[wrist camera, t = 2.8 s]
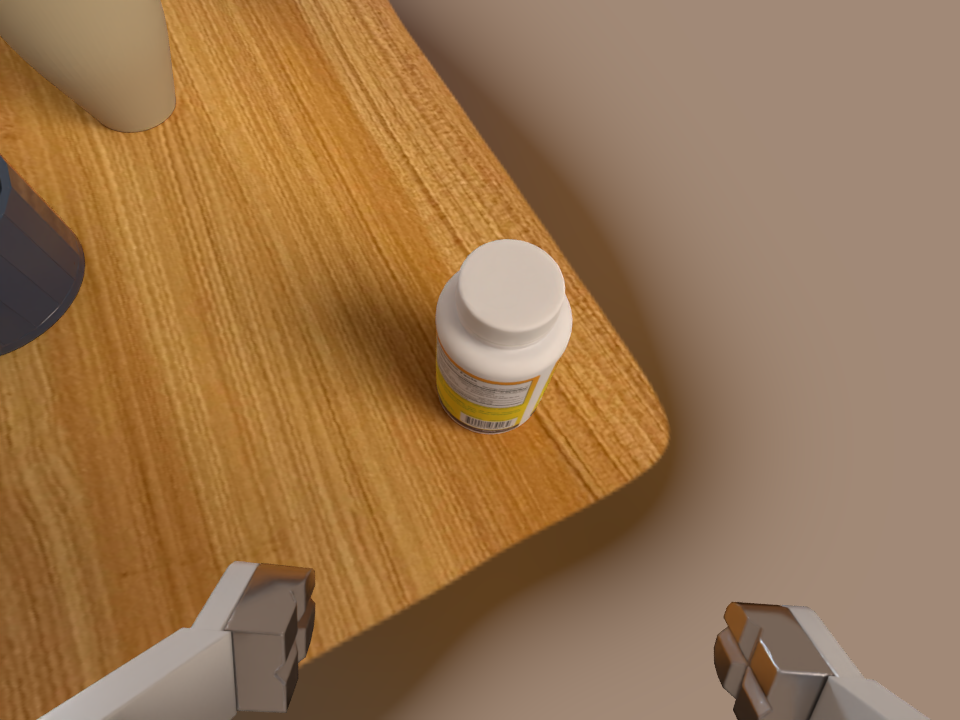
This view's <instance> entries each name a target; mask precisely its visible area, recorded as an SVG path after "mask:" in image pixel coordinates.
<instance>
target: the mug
mask: <svg viewBox="0 0 960 720" xmlns="http://www.w3.org/2000/svg"><path fill="white" fill-rule="evenodd" d="M0 36H1V37H2V38H3V39H4V40H5V41H6V42H7V43H8V44H9V45H10V46H11V48H12V49H13V50H15V51H16V52H17V53H18V54H19V55H20V56H21V57H22V58H23V59H24V60H25V61H26V62H27V63H28V64H29V65H31V66H32V67H33V68H34V69H35V70H36V71H37V72H39V73H40V74H41V75H42V76H43V77H45V78H46V79H47V80H48V81H49V82H51V83H52V84H53V85H54V86H56V87H57V88H58V89H59V90H61V91H62V92H63V93H64V94H66V95H67V96H68V97H69V98H71V99H72V100H73V101H74V102H76V103H77V104H78V105H79V106H81V107H82V108H83V109H84V110H86V111H87V112H88V113H89V114H91V115H92V116H93V117H94V118H96V119H97V120H98V121H99V122H101V123H102V124H103V125H105V126H106V127H108V128H110V129H113V130H116V131H121V132H139V131H144V130H148V129H151V128H153V127H155V126H157V125H159V124H161V123H162V122H164V121H165V120H166V119H167V118H168V117H169V116H170V115H171V114H172V112H173V110H174V108H175V104H176V97H175V88H174V80H173V72H172V63H171V55H170V46H169V38H168V32H167V26H166V20H165V16H164V11H163V8H162V4H161V1H160V0H0Z"/></svg>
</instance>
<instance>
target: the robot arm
mask: <svg viewBox="0 0 960 720" xmlns="http://www.w3.org/2000/svg"><path fill="white" fill-rule="evenodd" d="M314 587H315V571H314V570H313V569H312V568H303V567H293V566H284V565H274V564H265V563H261V564H258V563H249V562H240V561H234V562H233V563H232V564H230V565H229V566H228V568H227V569H226V571H225V572H224V574H223V576H222V577H221V579H220V581H219V582H218V584H217V586H216V587H215V589H214V590H213V592H212V594H211V595H210V597H209V599H208V600H207V602H206V604H205V605H204V607H203V608H202V610H201V612H200V613H199V615H198V617H197V618H196V620H195V622H194V623H193V625H192V626H191V628H181V629H179V630H178V631H176V632H175V633H173V634H171V635H170V636H168V637H167V638H165V639H164V640H162V641H160V642H159V643H157V644H156V645H154V646H152V647H151V648H149V649H148V650H146V651H145V652H143V653H141V654H140V655H138V656H137V657H135V658H133V659H132V660H130V661H129V662H127V663H126V664H124V665H122V666H121V667H119V668H118V669H116V670H114V671H113V672H111V673H110V674H108V675H107V676H105V677H103V678H102V679H100V680H99V681H97V682H95V683H94V684H92V685H91V686H89V687H88V688H86V689H84V690H83V691H81V692H80V693H78V694H76V695H75V696H73V697H72V698H70V699H69V700H67V701H65V702H64V703H62V704H61V705H59V706H58V707H56V708H54V709H53V710H51V711H50V712H48V713H46V714H45V715H43V716H42V717H40V718H39V719H37V720H231V719H232V718H233V717H234V716H235V715H236V714H237V713H236V711H257V712H281V713H286V712H287V709H288V706H289V703H290V701H291V698H292V695H293V692H294V689H295V686H296V683H297V681H298V663H299V662H300V661H301V660H302V659H304V658H305V657H306V654H307V651H308V648H309V645H310V641H311V637H312V632H313V628H314V620H315V602H314V601H313V600H312V599H311V595H312V592H313V590H314ZM724 619H725V621H726V623H727V625H728V627H727V628H725V629H724V630H723V631H721V632H720V633H719V634H718V635H717V638H716V642H715V646H714V664H715V668H716V671H717V675H718V678H719V680H720V682H721V684H722V687H723V688H724V689H725V690H726V691H727V692H728V693H730V694H731V695H732V696H733V697H734V698H735V699H736V701H735V705H734V708H733V711H734V713H735V715H736V717H737V719H738V720H931V719H930V718H928V717H927V716H925V715H923V714H922V713H921V712H919V711H918V710H917V709H915V708H914V707H912V706H911V705H909V704H908V703H906V702H905V701H904V700H902V699H901V698H899V697H897V696H896V695H895V694H893V693H892V692H891V691H889V690H888V689H886V688H885V687H883V686H882V685H880V684H879V683H878V682H876V681H875V680H872V679H865V678H864V677H863V675H862V674H861V673H860V671H859V670H858V669H857V667H856V666H855V665H854V663H853V662H852V661H851V659H850V658H849V657H848V656H847V654H846V653H845V651H844V650H843V648H842V647H841V646H840V645H839V643H838V642H837V640H836V639H835V638H834V637H833V635H832V634H831V632H830V631H829V630H828V628H827V627H826V626H825V624H824V623H823V622H822V621H821V619H820V618H819V616H818V615H817V614H816V612H815V611H813V610H812V609H810V608H809V607H804V606H803V607H802V606H788V605H782V606H780V605H768V604H754V603H741V602H731V603H730V604H729V605H728V607H727V608H726V611H725V614H724Z"/></svg>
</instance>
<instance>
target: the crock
mask: <svg viewBox="0 0 960 720" xmlns="http://www.w3.org/2000/svg"><path fill="white" fill-rule="evenodd" d="M84 269H85V259H84V253H83V249H82V246H81V244H80V242H79V240H78V238H77V237H76V235H75V234H74V232H73V231H72V230H71V229H70V228H69V227H68V226H67V225H66V224H65V222H64V221H63V220H62V219H61V217H60V216H59V215H58V214H57V213H56V212H55V211H54V210H53V209H52V208H51V207H50V206H49V205H48V204H47V203H46V202H45V200H44V199H43V198H42V197H41V196H40V195H39V194H38V193H37V192H36V191H35V190H34V189H33V188H32V187H31V186H30V185H29V183H28V182H27V181H26V180H25V179H24V178H23V177H22V176H21V175H20V174H19V173H18V172H17V171H16V170H15V169H14V168H13V166H12V165H11V164H10V163H9V162H8V161H7V160H6V159H5V158H4V157H3V156H2V155H1V154H0V356H1V355H4V354H7V353H9V352H11V351H13V350H16V349H18V348H20V347H22V346H24V345H25V344H27V343H29V342H31V341H32V340H34V339H35V338H37V337H38V336H40V335H41V334H43V333H44V332H45V331H46V330H48V329H49V328H50V327H51V326H52V325H54V324H55V323H56V322H57V321H58V320H59V318H60V317H61V316H62V315H63V314H64V313H65V312H66V310H67V309H68V308H69V307H70V305H71V304H72V302H73V300H74V299H75V297H76V295H77V293H78V291H79V289H80V286H81V284H82V280H83V276H84Z"/></svg>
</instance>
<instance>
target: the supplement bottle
mask: <svg viewBox="0 0 960 720" xmlns="http://www.w3.org/2000/svg"><path fill="white" fill-rule="evenodd" d="M571 330H572V313H571V308H570V304H569V301H568V299H567V297H566V295H565V282H564V278H563V275H562V272H561V270H560V268H559V266H558V265H557V263H556V262H555V261H554V260H553V258H552V257H551V256H550V255H548V254H547V253H546V252H545V251H544V250H542V249H540V248H539V247H537V246H535V245H533V244H530V243H528V242H524V241H520V240H511V239H504V240H496V241H492V242H489V243H486V244H484V245H482V246H480V247H478V248H477V249H475V250H474V251H473V252H472V253H471V254H469V256H468V257H467V258H466V259H465V261H464V262H463V264H462V266H461V269H460V270H459V271H458V272H457V273H456V274H455V275H453V276H452V277H451V279H450V280H449V281H448V282H447V283H446V285H445V287H444V288H443V290H442V292H441V294H440V297H439V300H438V303H437V308H436V387H437V393H438V397H439V400H440V402H441V404H442V406H443V408H444V410H445V411H446V412H447V414H448V415H449V416H450V417H451V418H452V419H453V420H454V421H455V422H457V423H458V424H459V425H461V426H463V427H464V428H466V429H468V430H471V431H474V432H477V433H482V434H499V433H504V432H507V431H510V430H513V429H515V428H517V427H519V426H520V425H522V424H523V423H524V422H525V421H527V420H528V419H529V417H530V416H531V415H532V414H533V412H534V411H535V409H536V408H537V406H538V404H539V402H540V400H541V398H542V396H543V394H544V392H545V390H546V388H547V386H548V384H549V381H550V379H551V377H552V375H553V373H554V371H555V369H556V367H557V365H558V363H559V361H560V359H561V357H562V355H563V353H564V351H565V349H566V347H567V344H568V342H569V338H570V335H571Z"/></svg>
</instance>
